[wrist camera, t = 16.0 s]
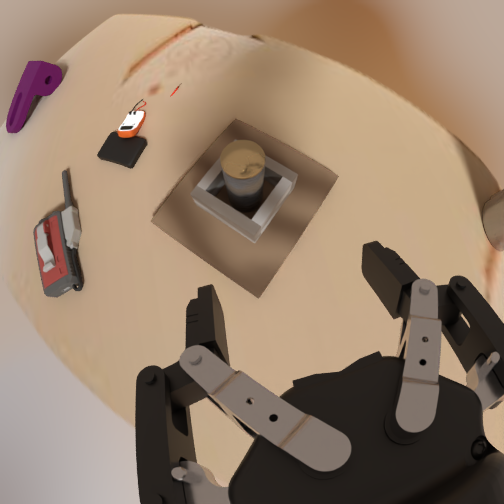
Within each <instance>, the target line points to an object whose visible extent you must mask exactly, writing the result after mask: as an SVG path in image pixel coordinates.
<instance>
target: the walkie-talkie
mask: <svg viewBox="0 0 504 504" xmlns="http://www.w3.org/2000/svg"><path fill="white" fill-rule="evenodd" d="M62 179H63V189H64V197H65V210H64V211H61V212H60V211H54V212H53V213H52V214H51V215H49V216H48V217H47V218H44V219H41V220H40V221H39V224H38V225H37V226H35V228H34V240H35V248H36V254H37V260H38V265H39V270H40V275H41V280H42V284H43V290H44V294H45V295H46V296H49V297H59V296H61V295H62V294H64V293H66V292H67V291H69V290H71V289H72V288H73V289H74V290H75V291H81V290H82V288H83V282H82V277H81V274H80V270H79V267H78V263H77V259H76V258H77V257H76V249H77V248H78V244H79V240H80V236H81V227H80V222H79V217H78V209H77V208H75V207H73V203H72V202H71V196H70V189H69V183H68V176H67V171H66V170H64V171H63V172H62ZM78 285H79V287H78V288H77V287H76V286H78Z"/></svg>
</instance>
